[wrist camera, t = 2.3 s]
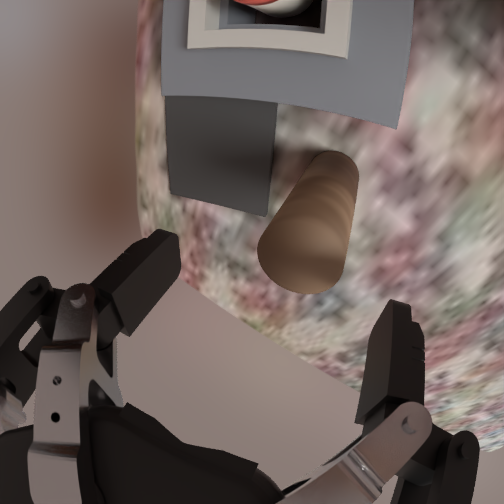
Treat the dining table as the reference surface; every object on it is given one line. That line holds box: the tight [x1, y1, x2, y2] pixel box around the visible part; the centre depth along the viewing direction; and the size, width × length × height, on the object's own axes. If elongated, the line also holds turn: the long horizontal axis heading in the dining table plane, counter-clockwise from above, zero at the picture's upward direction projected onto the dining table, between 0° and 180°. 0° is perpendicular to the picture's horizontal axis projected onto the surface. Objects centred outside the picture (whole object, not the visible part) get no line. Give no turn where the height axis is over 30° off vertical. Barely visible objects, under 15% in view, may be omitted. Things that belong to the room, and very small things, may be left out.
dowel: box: [257, 151, 359, 294], centre depth 15 cm, size 4×4×10 cm
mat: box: [165, 96, 278, 217], centre depth 21 cm, size 9×9×1 cm
